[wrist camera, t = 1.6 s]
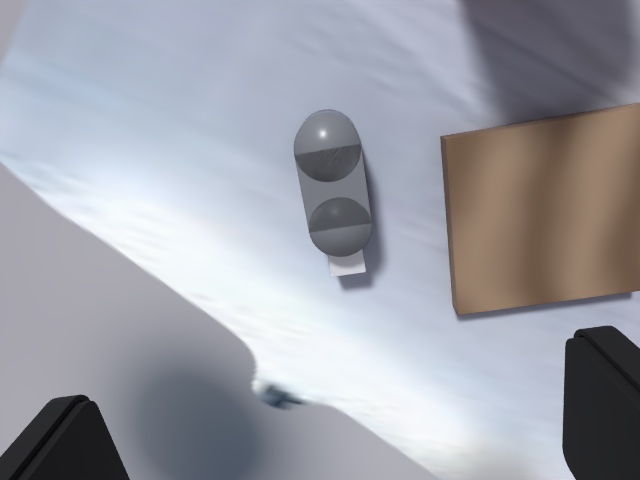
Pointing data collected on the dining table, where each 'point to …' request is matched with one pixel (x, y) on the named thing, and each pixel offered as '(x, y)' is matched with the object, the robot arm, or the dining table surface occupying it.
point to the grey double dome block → (334, 189)
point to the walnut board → (544, 210)
